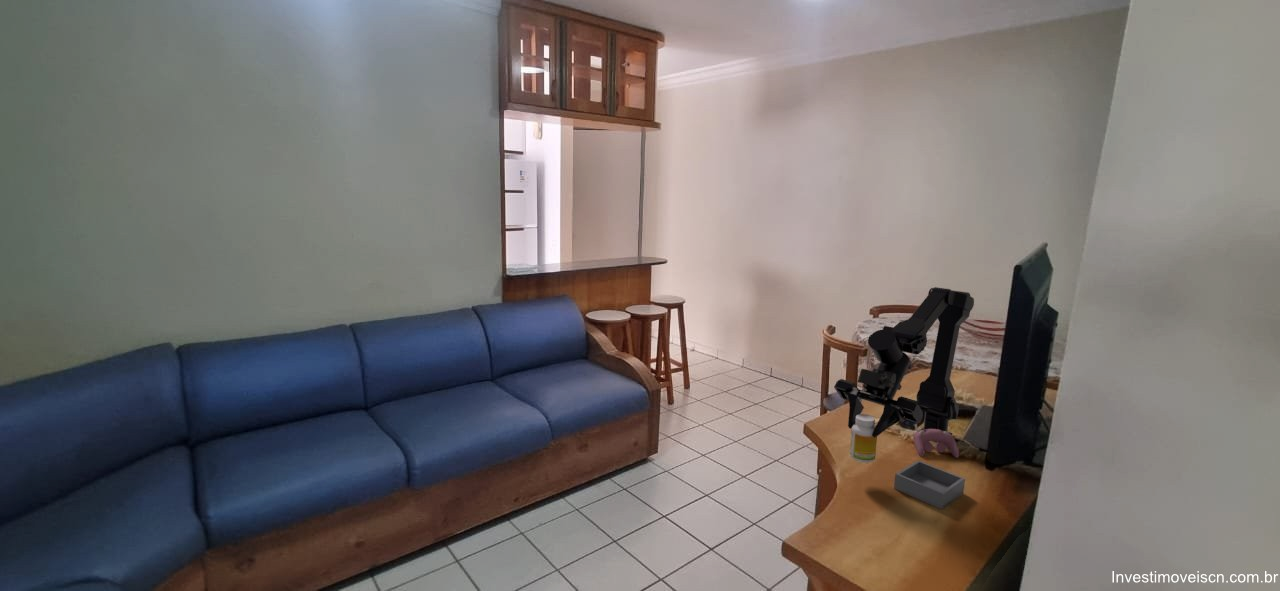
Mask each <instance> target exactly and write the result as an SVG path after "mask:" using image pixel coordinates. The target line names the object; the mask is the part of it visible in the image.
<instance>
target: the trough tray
mask: <svg viewBox="0 0 1280 591" xmlns="http://www.w3.org/2000/svg"><path fill="white" fill-rule="evenodd" d="M965 482H966V478H965V477H962V476H960V475H957V474H955V473H952V472H949V471H947V470H944V469H942V468H939V467H936V466H934V465H931V464H928V463H926V462H923V461H921V460H916V461H915V462H912V463H911V464H910V465H908V466H906V467H904V468H903V469H901V470H899V471H898V472H896V473H895V474H894V485H893V489H894V490H897V491H899V492H901V493H903V494H906V495H908V496H911V497H913V498H915V499H918V500H919V501H921V502H924V503H926V504H928V505H931V506H933V507H935V508H937V509H940V510H943V509H944V508H945V507H947V506H948V505H950V504H951V503H952V502H953V501H955V500H956V499H958V498H959V497H960V496H961V495H963V494H964V492H965V491H964V490H965Z"/></svg>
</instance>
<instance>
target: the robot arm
mask: <svg viewBox="0 0 1280 591" xmlns="http://www.w3.org/2000/svg"><path fill="white" fill-rule="evenodd" d="M974 306H975V298H974V297H972V296H971V294H970V292H968V291H967V292H966V291H960V290H952V289H951V288H944V287H936V286H935V287H931V288H930V289H929V291H928V293H927V295H926V297H925V298H924V299H923V301H922V302H921V303H920V305H918V307H917V308H916V310H914V312H913V313H912V315H911V316H910V317H909V318H908V319H905V320H902V321H899V322H898V323H897V324H895V325H894V327H892V326H888V325H884V326H883V328H882V329H879V330H876V331H874V332H873V333H871V334H870V335H869V336H868V338H867V343H868V346H869V348H870V349H871V352H872V353H873V355H874V356H875V358H876V360H877V361H879V364H878V366H877V368H873V369H872V370H869V369H865V368H861V369H860V372H859V374H858V375H859V376H858V379H857V383H860V384H862V387H863V388H864V389H865V390H862V389H859V388H858V386H857V385H856V382H853V381H849V380H846V379H843V378H840V379H838V380H837V381H836V382H835V384H834V385H833V389H834V390H835V392H837V394H838V395H839V396H840V398H841V399H842V400H845V401H847V402H848V403H849V404H848V405H849V408H848V409H849V411H848V412H849V413H848V422H847V423H848V424H847V427H848V429H850V430H852V426H853V425H854V424H855V423H856V421H855V420H856V415H858V414H862V412H863V410H864V409H865V406H864V405H863V403H862V402H863V401H867V402H869V403H874V404H876V405H880V406H883V412H882V414H881V416H880V418H879V420H878V421H877V423H876V425H875V429H874V431H873V434H872V436H873V437H877V438H878V436H879V435H881V434H882V433H884V432H885V431H886V430H887V429H889V428H890V427H892V426H894V425H896V424H898V423H899V422H903V423H904V422H905V420H907V421H910V422H913V423H916V424H920V423H921V421H922V420H923V421H924V422H923V428H921V429H920V430H925V429H939V430H943V431H946V432H949V433H950V434H951V435H952V436H953V433H952V432H951V431H948V430H949V421H950V420H957V419H958V414H959V410H960V408H959V407H960V406H959V405H958V403H957V401H956V398H955V392H956V390H955V388H954V386H953V384H952V382H951V375H952V369H953V365H954V359H955V354H956V348H957V343H958V339H959V334H960V328H961V325H962V324H963V323H964V322H965V321H966V320H967V319H968V318H969V317H970V313H971V311H972V310H973V309H974ZM937 320H938V323H939V325H938V329H937V335H936V341H935V345H934V350H933V356H932V362H931V367H930V372H929V376H928V377H927V378H926V379H924V381H921V382H920V383H919V389H918V391H917V393H916V400H914V399H911V398H909V397H905V396H901V395H900V396H899V397H897V399H894V398H895V395H896V394H897V391H901V389H902V387H903V386H902V385H901V383H902V381H903V379H904V377H905V375H906V372H907V371H908V370H911V369H912V363H911V359H910V356H908V355H907V354H906V353H908V354H911V355H919V354H921V353H922V352H923V351H924V350H925V348H926V347H927V343H928V337H927V333H928V332H929V330H930V329H931V327H932V326H934V324H935V322H936V321H937ZM923 417H924V419H923Z"/></svg>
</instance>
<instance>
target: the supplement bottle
mask: <svg viewBox="0 0 1280 591" xmlns="http://www.w3.org/2000/svg"><path fill="white" fill-rule="evenodd" d="M855 421H856V423H855V424H854V425H853V426H852V428H851V429H850V431H851V432H850V433H851V434H850V435H851V436H850V446H849V457H850V458H851V459H853V460H854V461H856V462H859V463H864V464H865V463H866V464H869V463H872V462H873V463H874V461H875V460H876V454H877V442H878V436H877V437H873V436H872V434H873V431H874V429H875V427H876V425H875V423H876V419H875V417H874V416H873V415H870V414H866V413H861V414H858V415H856V420H855Z"/></svg>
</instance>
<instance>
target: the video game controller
mask: <svg viewBox="0 0 1280 591" xmlns="http://www.w3.org/2000/svg"><path fill="white" fill-rule="evenodd" d="M949 432H950V431H947V432H946V431H943V430H939V429H925V430H921V429H919V430H917V431H916V432H914V434H913V441H914V446H915V450H916V453H917V455H918V456H919V457H921V458H922V457H924V455H925V452H926V453H928V452H929V453H930V452H932V451H933V450H934V447H935V451H937V452H938V453H940V454H941V453H945V451H947V448H948V450H950V452H951V454H952V456H953V457H954V458H955V459H958V458H959V457H960V449H959V448H958V445H957V442H956V440H955V438H954V436H953V434H952V435H951V434H950V433H951V432H950V433H949ZM931 442H936V443H935V446H933V444H932V443H931Z"/></svg>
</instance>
